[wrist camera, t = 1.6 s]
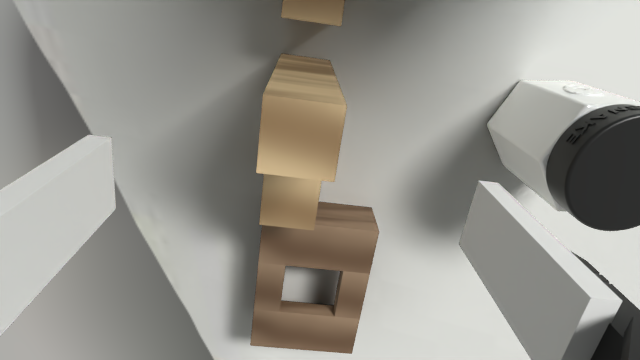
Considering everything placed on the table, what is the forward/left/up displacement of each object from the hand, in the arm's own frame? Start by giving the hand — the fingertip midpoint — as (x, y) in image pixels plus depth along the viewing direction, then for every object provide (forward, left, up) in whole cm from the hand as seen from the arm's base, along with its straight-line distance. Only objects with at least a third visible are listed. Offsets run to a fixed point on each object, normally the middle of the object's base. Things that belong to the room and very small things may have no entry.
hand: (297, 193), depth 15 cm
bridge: (+18, +3, -22) cm, 28 cm away
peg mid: (+7, 0, -22) cm, 23 cm away
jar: (+1, +21, -22) cm, 30 cm away
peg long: (0, 0, -22) cm, 22 cm away
